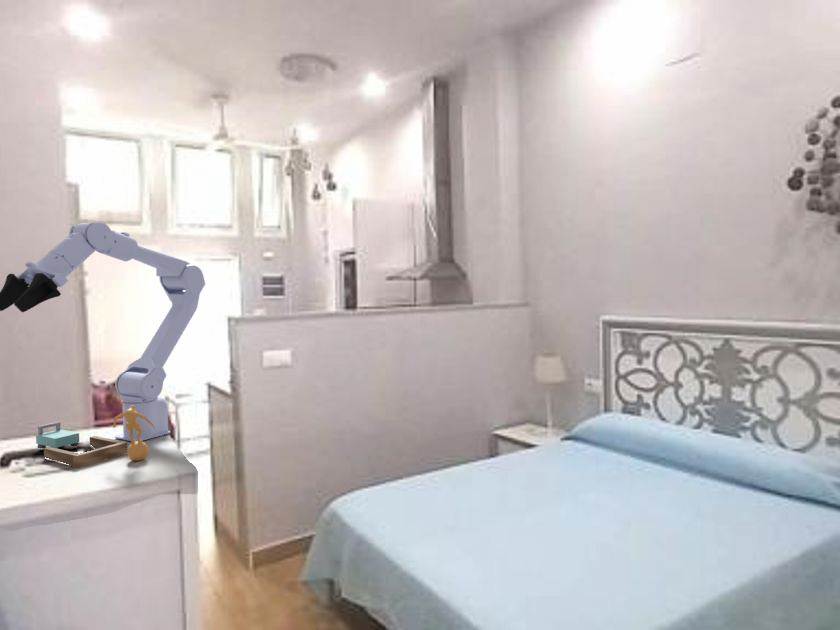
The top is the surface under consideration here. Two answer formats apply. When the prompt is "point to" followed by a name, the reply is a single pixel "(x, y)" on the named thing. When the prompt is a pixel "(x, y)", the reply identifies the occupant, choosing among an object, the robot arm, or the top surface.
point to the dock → (89, 452)
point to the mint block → (56, 437)
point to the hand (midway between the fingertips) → (7, 307)
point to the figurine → (137, 448)
